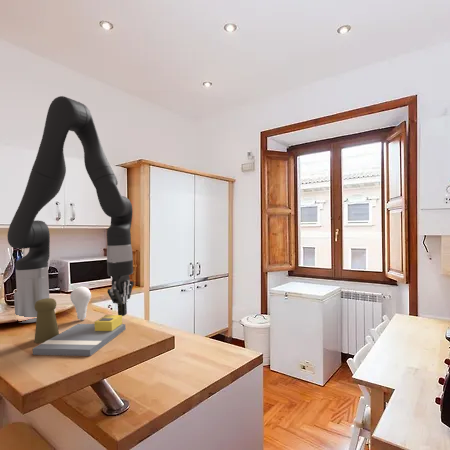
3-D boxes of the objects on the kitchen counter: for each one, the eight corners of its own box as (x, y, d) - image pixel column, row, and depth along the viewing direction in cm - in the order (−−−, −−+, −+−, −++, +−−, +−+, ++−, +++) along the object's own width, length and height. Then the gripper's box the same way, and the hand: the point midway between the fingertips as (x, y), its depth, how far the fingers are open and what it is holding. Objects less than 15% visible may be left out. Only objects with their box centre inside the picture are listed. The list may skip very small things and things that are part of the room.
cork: (31, 339, 85) (29, 299, 85) (55, 333, 90) (53, 295, 89) (38, 344, 81) (36, 303, 81) (63, 338, 85) (61, 298, 85)
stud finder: (94, 330, 85) (94, 321, 85) (106, 323, 91) (105, 314, 91) (111, 331, 85) (111, 321, 85) (122, 323, 91) (121, 314, 91)
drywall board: (32, 354, 75) (32, 348, 75) (78, 328, 93) (78, 323, 93) (90, 355, 73) (90, 349, 73) (125, 329, 91) (125, 324, 90)
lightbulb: (96, 318, 102) (94, 285, 102) (78, 324, 97) (77, 289, 97) (84, 316, 105) (83, 284, 105) (67, 321, 100) (66, 287, 100)
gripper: (118, 257, 103) (121, 309, 103) (97, 262, 90) (99, 322, 90) (140, 256, 102) (142, 309, 102) (121, 262, 89) (124, 322, 89)
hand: (122, 315), depth 96 cm, fingers closed
